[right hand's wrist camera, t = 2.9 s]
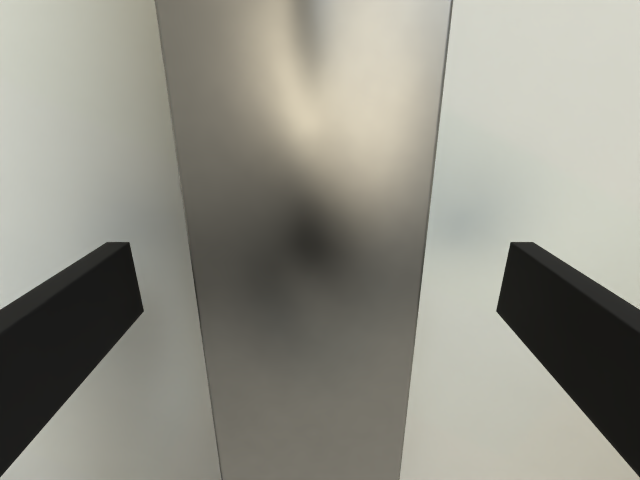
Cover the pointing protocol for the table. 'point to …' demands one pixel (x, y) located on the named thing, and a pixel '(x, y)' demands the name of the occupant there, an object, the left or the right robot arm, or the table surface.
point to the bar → (306, 219)
